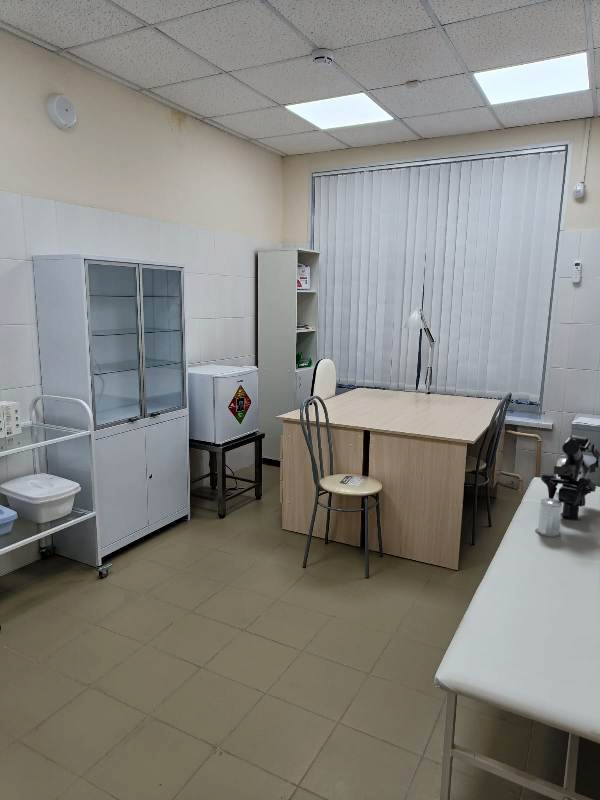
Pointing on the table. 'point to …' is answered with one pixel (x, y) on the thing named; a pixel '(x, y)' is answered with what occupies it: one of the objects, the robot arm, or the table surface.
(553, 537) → the rubber pad
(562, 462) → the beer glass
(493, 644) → the table surface
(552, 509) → the grey cup
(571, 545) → the table surface
